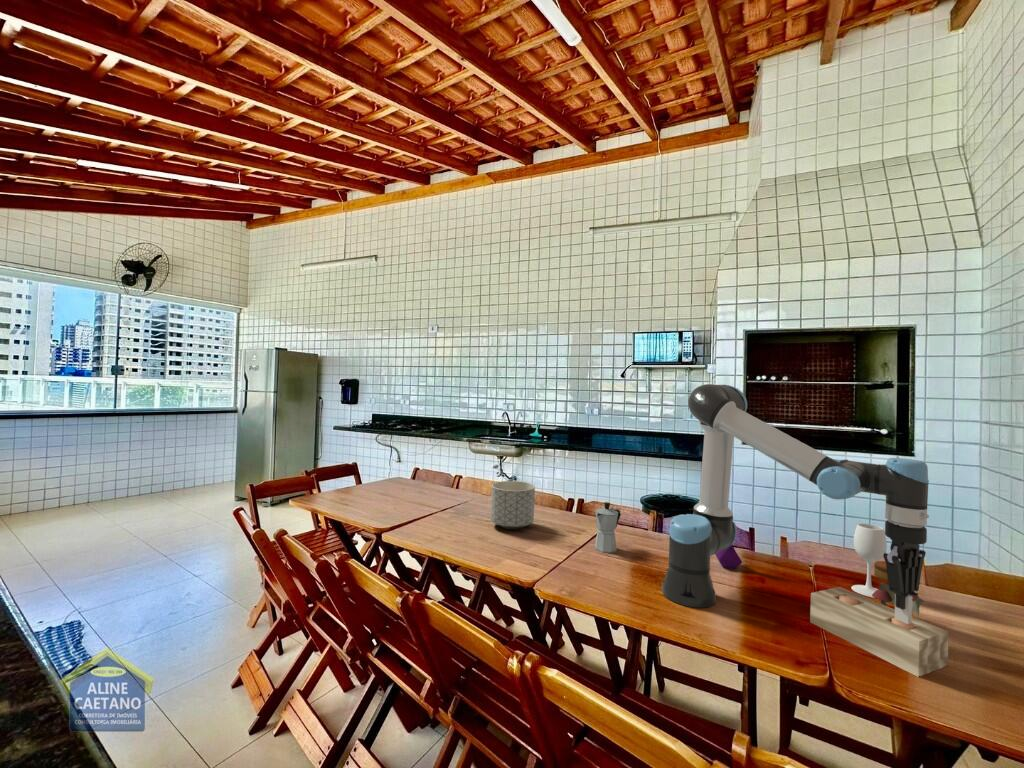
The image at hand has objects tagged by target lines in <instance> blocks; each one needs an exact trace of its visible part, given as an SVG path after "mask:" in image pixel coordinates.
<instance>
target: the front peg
mask: <svg viewBox="0 0 1024 768" xmlns="http://www.w3.org/2000/svg"><path fill="white" fill-rule="evenodd" d="M892 623H894V624H896V625H898V626H901V627H903V628H905V629H908V630H912V629H914V624H913V623H911V624H906V623H903V622H901V621H899V620H896V619H895V618H892Z"/></svg>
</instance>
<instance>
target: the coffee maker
mask: <svg viewBox="0 0 1024 768" xmlns="http://www.w3.org/2000/svg"><path fill="white" fill-rule="evenodd" d="M603 505H604V507H603V508H598V509H596V510H595V520H596V521H595V522H596V528H597V533H596V537H595V543H594V549H595V551H598V552H600V553H605V554H613V553H615V552H617V551H618V550H617V549H618V548H617V541H616V533H615V530H616V529H617V526H618V525H619V521H620V518H621V515H622V514H621V511H620V509H618V508H613V507H611V506H610V505H611V503H610V502H607V501H604V502H603Z"/></svg>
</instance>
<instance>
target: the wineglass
mask: <svg viewBox="0 0 1024 768" xmlns="http://www.w3.org/2000/svg"><path fill="white" fill-rule="evenodd" d="M853 547H854V550H855V553H857V555H858V556H859V557H860V558H862V559H863V560H864V561H865V563H866V567H867V568H866V569H867V570H866V582H865V585H864V584H854V585H852V586H851V590H852V591H853V592H854V593H856V594H858V595H861V596H863V597H867V598H872V599H876V598H875V597H873V596H872V594H873V593H874V592H875V591H876V590H879V588H876V587H873V585H872V567H873V564H874V563H875V562H876V561H882V559H884V557H883V555H884V553H887V549H888V544H887V536H886V535H885V528H883V527H881V526H879V525H875V524H870V523H865V522H864V523H862V522H860V523H857V525H856V527H855V530H854V534H853Z"/></svg>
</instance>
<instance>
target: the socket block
mask: <svg viewBox="0 0 1024 768" xmlns="http://www.w3.org/2000/svg"><path fill="white" fill-rule="evenodd" d="M841 595H844V596H849V597H853V598H855V599H857V600H858V605H854V606H852V605H850V604H848V603H846V602H843V601H841V600H839V596H841ZM892 608H893V607H889V606H888V605H887V606H885V605H883V604H881V602H879V601H878V602H877V601H876V600H872V599H870V598H869V597H866V596H864V595H861V594H859V593H857V592H854V591H851V590H848V589H846V588H843V587H841V586H835V587H832V588H828V589H823V590H818V591H814V592H811V593H810V609H809V610H810V611H809V615H810V617H809V622H810V623H811V624H812V625H815V626H817V627H818V628H820V629H823V630H825V631H827V632H829V633H830V634H833V635H834V636H837V637H838V638H841V639H842V640H845V641H846V642H848V643H850V644H852V645H854V646H856V647H859V648H860V649H862V650H864V651H866V652H867V653H869V654H872V655H874V656H875V657H878V658H880V659H881V660H883V661H886V662H888V663H890V664H892V665H894V666H896V667H898V668H899V669H901V670H903V671H905V672H907V673H909V674H911V675H914V676H915V677H917V678H920V677H923V676H925V675H928V674H931V673H933V672H935V671H938V670H940V669H943V668H946V667H948V665H949V663H948V662H949V631H948V630H947V629H943V628H941V627H938V626H936V625H934V624H931V623H929V622H927V621H925V620H921V619H920V618H918V617H917V618H916V617H915V616H912V623H913V624H914V629H912V630H908V629H905V628H903V627H901V626H898V625H896V624H894V623H892V618H895V609H894V608H893V609H892ZM932 671H933V672H932ZM919 676H920V677H919Z"/></svg>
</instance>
